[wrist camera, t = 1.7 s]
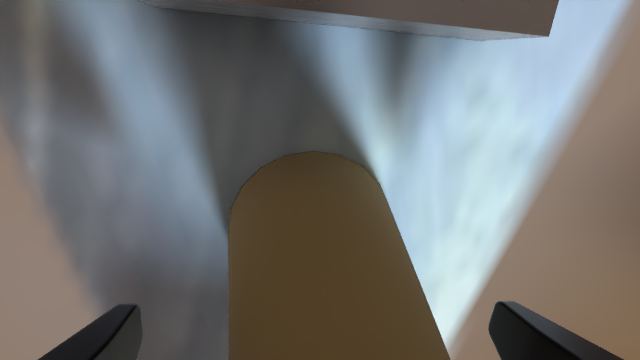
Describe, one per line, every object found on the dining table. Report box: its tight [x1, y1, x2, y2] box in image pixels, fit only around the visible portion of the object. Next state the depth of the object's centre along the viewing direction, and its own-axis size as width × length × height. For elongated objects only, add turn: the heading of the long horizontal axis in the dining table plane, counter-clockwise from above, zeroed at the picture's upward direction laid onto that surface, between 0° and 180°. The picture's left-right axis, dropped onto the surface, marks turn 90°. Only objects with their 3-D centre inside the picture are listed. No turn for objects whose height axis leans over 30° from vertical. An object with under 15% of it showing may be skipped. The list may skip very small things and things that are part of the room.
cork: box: [228, 151, 450, 360], centre depth 8 cm, size 6×6×11 cm
